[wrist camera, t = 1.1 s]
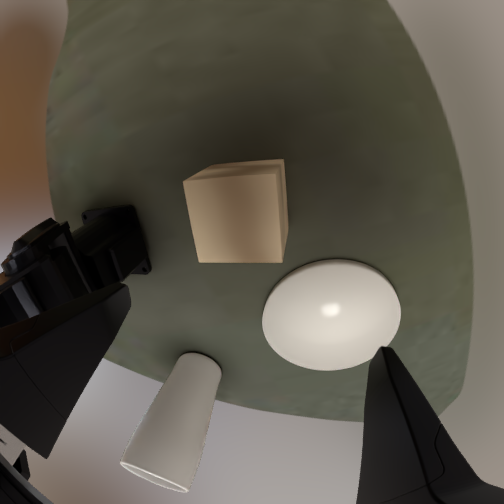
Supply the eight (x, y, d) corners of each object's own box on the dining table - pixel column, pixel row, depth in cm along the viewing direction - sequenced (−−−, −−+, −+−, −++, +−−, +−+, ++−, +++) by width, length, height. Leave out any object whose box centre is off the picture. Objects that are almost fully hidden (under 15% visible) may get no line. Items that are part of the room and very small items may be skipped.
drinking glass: (216, 344, 27) (163, 476, 14) (237, 383, 30) (202, 497, 17) (163, 345, 29) (104, 454, 16) (188, 381, 32) (145, 481, 19)
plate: (268, 361, 27) (267, 368, 26) (257, 259, 21) (255, 265, 20) (383, 360, 24) (385, 368, 23) (409, 258, 19) (413, 264, 18)
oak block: (222, 229, 21) (199, 262, 16) (212, 164, 19) (182, 181, 14) (288, 228, 20) (282, 262, 15) (283, 158, 17) (275, 173, 13)
